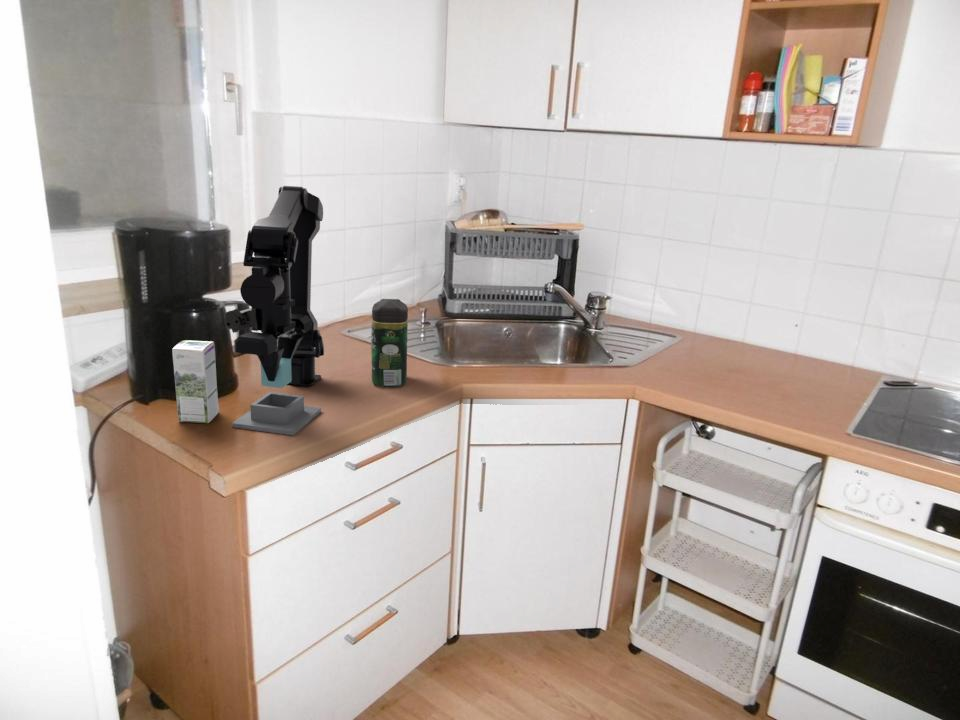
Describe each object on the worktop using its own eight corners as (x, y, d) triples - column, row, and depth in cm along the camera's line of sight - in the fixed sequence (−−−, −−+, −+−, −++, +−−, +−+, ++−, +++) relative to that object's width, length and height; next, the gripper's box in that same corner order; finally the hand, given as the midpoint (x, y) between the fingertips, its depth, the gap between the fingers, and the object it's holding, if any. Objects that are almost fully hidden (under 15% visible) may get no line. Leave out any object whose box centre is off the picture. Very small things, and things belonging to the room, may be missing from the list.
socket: (264, 404, 135) (263, 386, 134) (321, 411, 133) (320, 393, 132) (232, 427, 124) (231, 407, 123) (293, 435, 122) (293, 416, 121)
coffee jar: (372, 374, 156) (372, 295, 150) (406, 375, 157) (408, 296, 151) (369, 389, 147) (370, 305, 141) (406, 389, 147) (408, 307, 142)
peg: (291, 381, 128) (290, 358, 126) (281, 388, 124) (281, 365, 123) (272, 378, 128) (271, 356, 127) (261, 385, 125) (260, 362, 123)
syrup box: (219, 412, 130) (215, 340, 125) (208, 424, 124) (203, 349, 120) (189, 410, 130) (184, 338, 125) (177, 423, 124) (170, 347, 120)
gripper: (258, 281, 131) (261, 357, 136) (203, 301, 114) (209, 388, 118) (312, 287, 129) (313, 364, 134) (264, 308, 112) (268, 396, 117)
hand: (276, 377), depth 126 cm, fingers closed on peg, 4 cm apart
